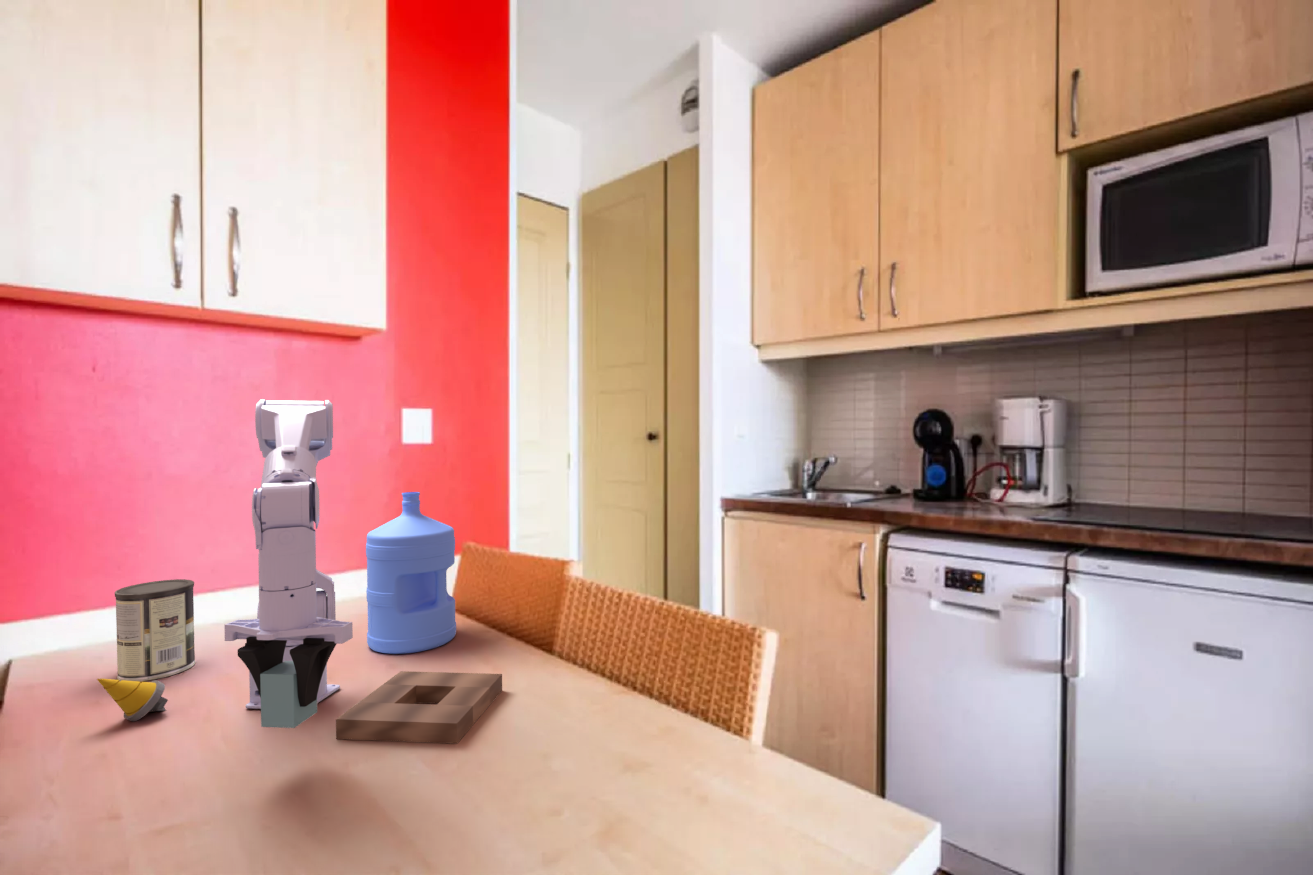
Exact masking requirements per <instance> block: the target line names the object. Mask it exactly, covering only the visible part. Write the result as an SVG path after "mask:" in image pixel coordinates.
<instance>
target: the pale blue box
mask: <svg viewBox="0 0 1313 875" xmlns="http://www.w3.org/2000/svg"><path fill="white" fill-rule="evenodd" d="M260 683H261V709H260V727H261V728H278V729H279V728H281V729H282V728H283V729H284V728H285V729H287V728H288V729H295V728H297V727H298V726H299V725H301V724H302V723H303V722H305V721H307V720H308V719H310V718H312V717H313V716H314V715H315V714H317V713H318V703H317V699H316V700H315V701H314V702H312V703H310V704H309V705H307V706H306V707H300V704H299V700H298V685H297V675H296V670H295V666H294V663H293V661H284V662H282V663H280V664H278V665H276V666H274V667H273V668H271V669H269V670H267V671H265V672H263V673H261V674H260Z"/></svg>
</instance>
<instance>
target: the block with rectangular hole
mask: <svg viewBox="0 0 1313 875" xmlns="http://www.w3.org/2000/svg"><path fill="white" fill-rule="evenodd" d="M501 692H503V674H502V673H483V672H482V673H480V672H479V673H477V672H443V671H441V672H439V671H438V672H437V671H408V670H405V671H404V670H402V671H399V672H398V673H397V674H395V675H394V676H392V677H391V678H390V679H388V680H387V681H386V682H384V683H383V684H382V685H380V686H379V687H377V688H376V689H375V690H373V691H372V692H370V693H369V694H368V695H367V696H365V697H364V698H363V699H361V700H359V702H357V703H356V704H354V705H353V706H351V707H350V708H349V709H348V710H346V711H345V712H344V713H342V714H341V715H340V716H337V718H336V719H335V739H337V740H358V741H360V740H361V741H381V742H382V741H384V742H407V743H409V742H410V743H411V742H412V743H414V742H415V743H430V744H431V743H434V744H435V743H437V744H458V743H459V742H460V741H461V740H462V738H463V737H464V736H465V735H466V734H467V733H468V731H469V730H470V729H471V728H472V726H474V725H475V723H476V722H477V721H478V720H479V718H481V716H482V715H483V714H484V712H486V710H487V709H488V708H489V707H490V705H491V704H492V703H493V702H494V701H495V700H496V699H497V697H498V696H499V695H500V694H501Z"/></svg>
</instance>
